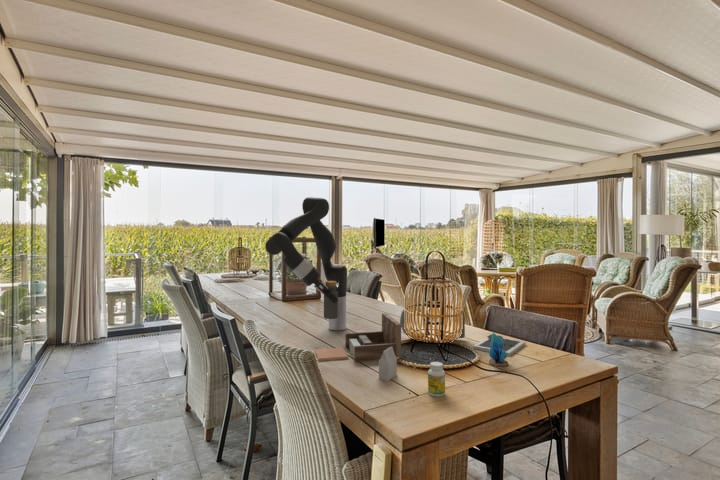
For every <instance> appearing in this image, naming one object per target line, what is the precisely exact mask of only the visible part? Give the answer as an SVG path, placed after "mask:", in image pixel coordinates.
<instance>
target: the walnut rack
mask: <svg viewBox="0 0 720 480" xmlns="http://www.w3.org/2000/svg"><path fill="white" fill-rule="evenodd" d="M359 335H365V336H366V337H367V338H368V339H369V340H370V341H371V342H372V345H360V346H354V356H353V358H354V362H355V363H356V362H369V361H370V362H371V361H380V359H381V357H382V354H383V351H385V350H386V349H388V348H390V347H393V351H394V353H395V356H396V357H401V358H402V327H401V324H400V321H398V320H396V319H395V318H393V316H391V315H389V314H388V313H387V312H384V313H381V330H378V331H377V330H376V331H363V332H362V331H361V332H345V335H344V336H345V341H344V343H345V344H344V346H345V348H349V339H357V341H358V336H359Z"/></svg>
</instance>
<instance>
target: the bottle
mask: <svg viewBox="0 0 720 480" xmlns="http://www.w3.org/2000/svg"><path fill="white" fill-rule="evenodd" d="M324 284H325V285H326V286H327V287H328V288H329V291H331V292H332V294H333V295H334V296H335V297H336V298H337V299H338V292H337V291H336V289H337V287H338V285H337V283H336V281H327V280H326V281H324ZM329 291H326V292H325V294H327V293H328V292H329ZM325 294H323V318H324V319H326V320H329V319H336V318H338V301H337V302H336V303H333V302H332V301H331V300H330V299H329V298H328V297H326V295H325Z"/></svg>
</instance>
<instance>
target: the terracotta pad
mask: <svg viewBox="0 0 720 480" xmlns="http://www.w3.org/2000/svg"><path fill="white" fill-rule="evenodd" d="M314 354H315V356H316V359H317V360H318V362H322V361H323V362H324V361H337V360H349V356H348V353H347V352H346V350H344V347H331V348H319V349H318V348H317V349H315V350H314Z"/></svg>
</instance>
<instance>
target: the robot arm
mask: <svg viewBox="0 0 720 480" xmlns="http://www.w3.org/2000/svg"><path fill="white" fill-rule="evenodd" d="M329 210H330V204H329V201H328V200H327V199H326V198H324V197H323V198H322V197H314V196H308V197H307V196H306V197H305V198H304V199H303V201H302V212H303V214H301V215H299V216H295V217H294V218H292V219H291V220H289V221H287V223H286V224H285V225H283V226H282V227H281V228H280V230H278V232H275V233H274V234H273V235H272V236H270V237H269V239H267V240H266V242H265V246H264V248H265V250H266V253H268V254H269V255H272V256H275V255H276V256H277V255H279V254H280V253H281V252H282V254H283V255H284V257H283V263H284V264H285V265H286V267H288V268H289V270H291V271H292V272H293V273H294V275H295V276H296V277H297V278H299V280H300V281H301V282H302V283H303V284H305V285H306V287H310V286H312V285H314V288H315V289H316V290H317V291H318V292H320V294H322V295H324V294H325V292H326V291H329V288H328V287H327V286H326V284H325V281H323V280H322V279H319V277H320V276H321V272H320V271H319V270H318V269H317V268H316V267H315V266H314V265H313V264H312V263H311V261H308V260H307V259H306V258H305V257H304V256H303V255H302V254H301V253H299V251H298V250H297V248H296V247H295V245H294V243H293V241H294V240H296V239H297V238H298V237H299V236H300V235H301V234H302V233H303V232H304V231H305V230H307V229H308V228H310V231H311V233H312V237H313V240H314V241H315V246H316V248H317V250H318V254H319V257H320V260H321V263H322V264H321V265H322V268H323V273H324V277H325V279H326V281H336V284H337V289H336V291H337V292H338V299H337V298H336V297H335V296H334V295H333V294H332V292H331V291H329V292H328V293H327V294H325V295H326V297H328V298H329V299H330V300H331V301H332V302H333V303H336V302H337V301H338V318H336V319H328V329H329V330H331V331H344V330H347V290H348V288H347V285H348V268H347V267H346V266H345V265H341V264H340V265H337V264H332V259H333V256H334V254H335V251H336V248H337V244H336V241H335V240H336V239H335V238H334V235H333V233H332V232H331V230H330V229H329V228H328V227H327V226H326V225H325V224H324V223H323V222H322V221H321V220H322V219H324V218H325V217H326V216H327V215H328V213H329Z"/></svg>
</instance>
